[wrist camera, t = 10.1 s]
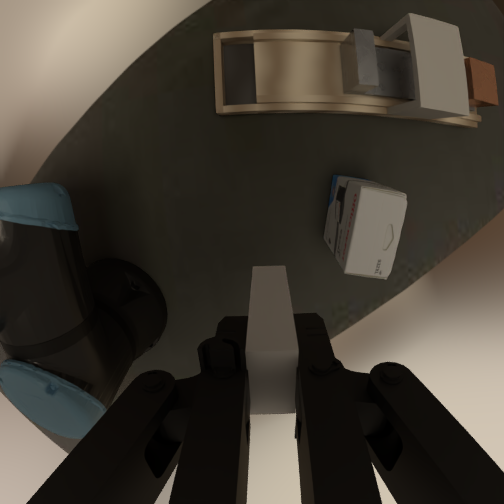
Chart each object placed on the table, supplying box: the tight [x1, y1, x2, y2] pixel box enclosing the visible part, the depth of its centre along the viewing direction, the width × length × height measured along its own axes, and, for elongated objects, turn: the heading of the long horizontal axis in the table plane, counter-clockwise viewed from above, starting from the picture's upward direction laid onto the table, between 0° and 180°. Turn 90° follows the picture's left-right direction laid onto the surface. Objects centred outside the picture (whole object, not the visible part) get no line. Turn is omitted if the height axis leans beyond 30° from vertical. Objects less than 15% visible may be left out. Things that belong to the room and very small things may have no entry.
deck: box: [213, 30, 481, 128], centre depth 30 cm, size 34×10×4 cm, turn 93°
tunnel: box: [380, 13, 469, 119], centre depth 25 cm, size 6×10×8 cm, turn 3°
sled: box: [340, 29, 498, 112], centre depth 26 cm, size 18×6×6 cm, turn 93°
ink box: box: [323, 175, 407, 279], centre depth 32 cm, size 8×5×12 cm, turn 173°
